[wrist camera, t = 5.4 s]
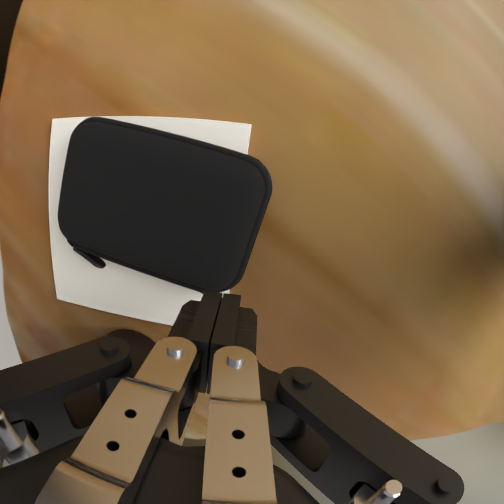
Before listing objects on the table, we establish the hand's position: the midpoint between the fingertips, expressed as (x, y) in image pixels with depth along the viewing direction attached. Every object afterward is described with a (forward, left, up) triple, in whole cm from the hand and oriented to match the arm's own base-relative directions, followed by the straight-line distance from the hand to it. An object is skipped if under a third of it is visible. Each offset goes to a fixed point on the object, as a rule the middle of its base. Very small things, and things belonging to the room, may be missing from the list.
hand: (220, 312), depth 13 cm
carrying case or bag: (-1, -1, -8) cm, 8 cm away
